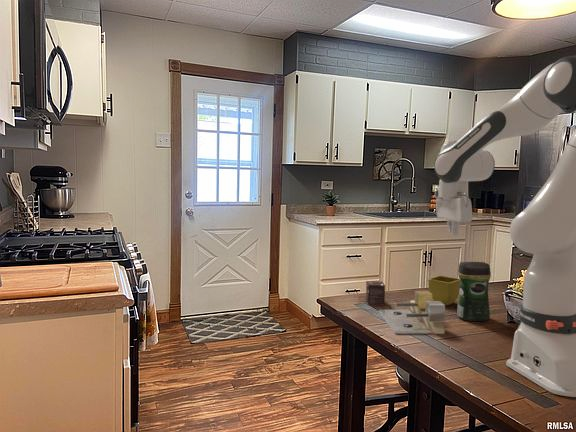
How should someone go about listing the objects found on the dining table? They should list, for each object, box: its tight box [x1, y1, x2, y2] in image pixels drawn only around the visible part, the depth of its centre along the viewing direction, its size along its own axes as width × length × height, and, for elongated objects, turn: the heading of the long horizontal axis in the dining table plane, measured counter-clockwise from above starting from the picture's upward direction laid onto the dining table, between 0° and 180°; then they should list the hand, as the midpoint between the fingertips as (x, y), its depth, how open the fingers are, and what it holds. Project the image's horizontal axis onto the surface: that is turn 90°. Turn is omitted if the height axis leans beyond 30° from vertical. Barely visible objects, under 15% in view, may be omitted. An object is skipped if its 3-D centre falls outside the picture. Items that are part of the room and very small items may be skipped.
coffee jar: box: [456, 261, 492, 322], centre depth 140 cm, size 10×8×19 cm
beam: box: [406, 299, 446, 335], centre depth 138 cm, size 24×11×8 cm, turn 1°
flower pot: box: [427, 275, 460, 306], centre depth 157 cm, size 9×9×9 cm
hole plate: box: [379, 309, 430, 335], centre depth 136 cm, size 20×10×1 cm, turn 1°
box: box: [365, 280, 386, 306], centre depth 158 cm, size 6×6×7 cm
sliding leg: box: [396, 290, 433, 309], centre depth 141 cm, size 4×11×5 cm, turn 91°
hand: (453, 234), depth 141 cm, fingers closed
